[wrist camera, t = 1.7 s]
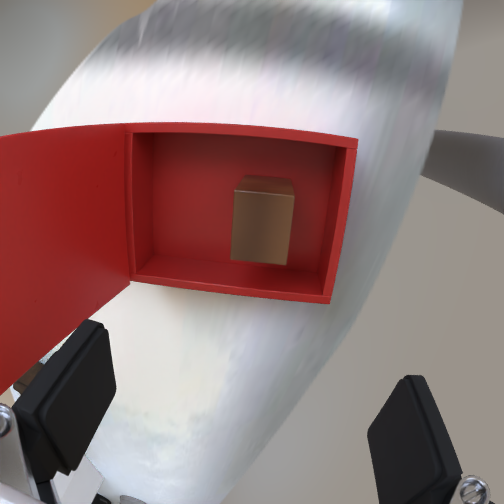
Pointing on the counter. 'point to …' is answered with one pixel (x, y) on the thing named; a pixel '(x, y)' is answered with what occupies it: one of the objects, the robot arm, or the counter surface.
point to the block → (262, 219)
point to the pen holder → (100, 500)
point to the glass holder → (129, 500)
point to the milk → (78, 484)
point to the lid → (58, 237)
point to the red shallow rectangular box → (221, 206)
